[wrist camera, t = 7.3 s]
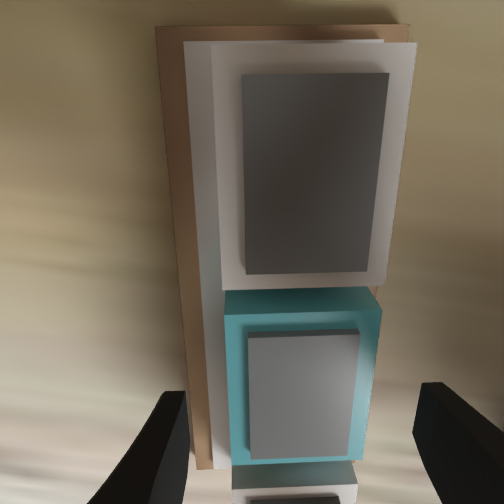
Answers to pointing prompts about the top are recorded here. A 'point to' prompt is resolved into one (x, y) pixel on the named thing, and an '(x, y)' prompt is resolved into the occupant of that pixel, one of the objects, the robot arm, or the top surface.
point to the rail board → (277, 195)
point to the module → (299, 372)
